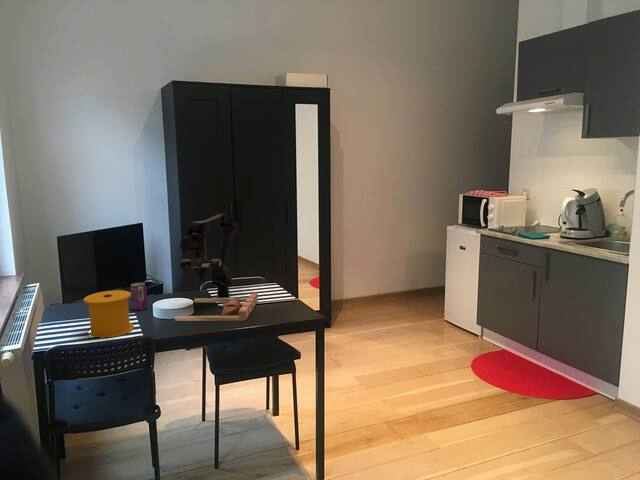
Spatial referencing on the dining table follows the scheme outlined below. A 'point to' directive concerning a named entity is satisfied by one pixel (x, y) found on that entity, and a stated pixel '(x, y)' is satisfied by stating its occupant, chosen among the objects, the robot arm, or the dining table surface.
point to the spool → (109, 313)
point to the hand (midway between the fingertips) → (201, 280)
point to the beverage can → (138, 296)
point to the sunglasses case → (231, 307)
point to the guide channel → (242, 316)
